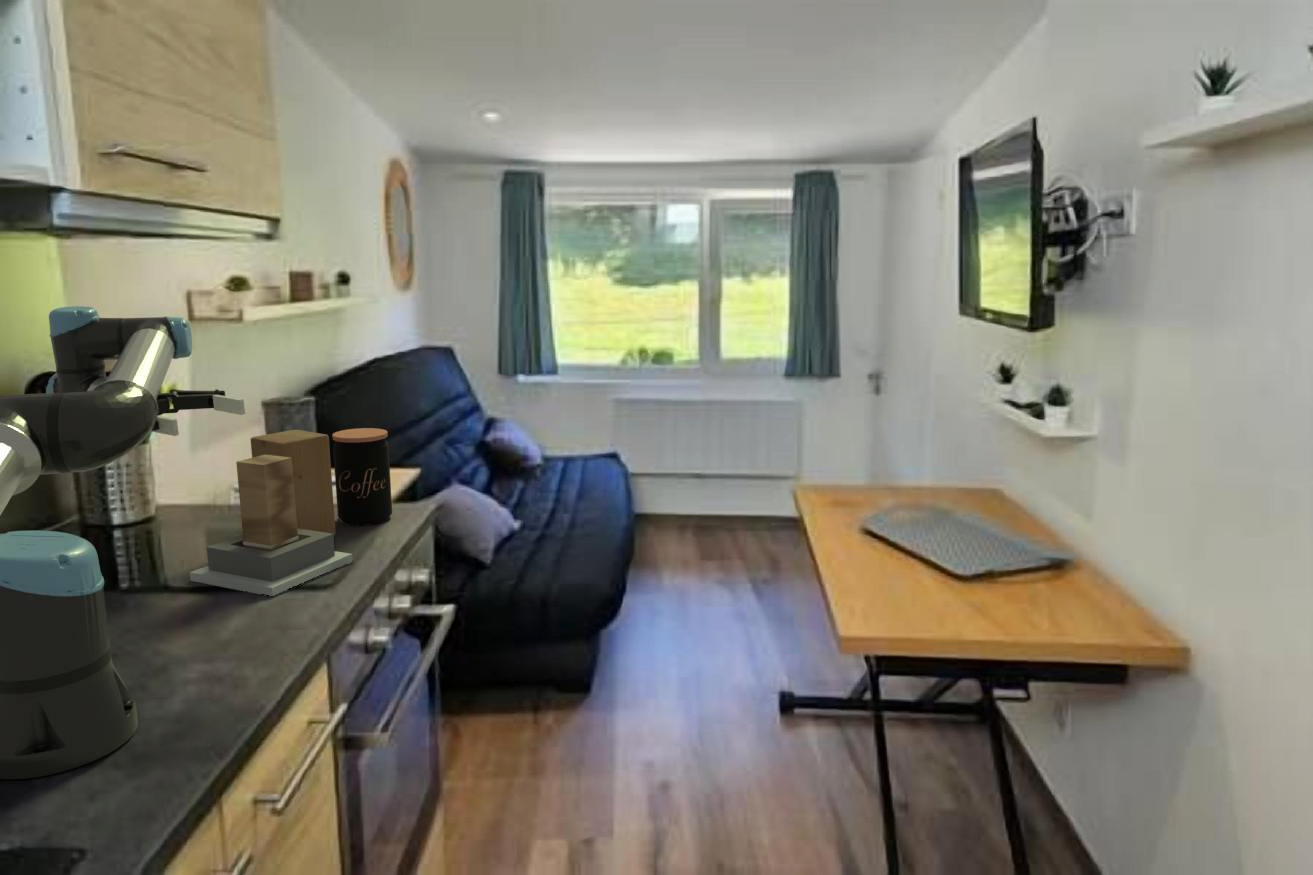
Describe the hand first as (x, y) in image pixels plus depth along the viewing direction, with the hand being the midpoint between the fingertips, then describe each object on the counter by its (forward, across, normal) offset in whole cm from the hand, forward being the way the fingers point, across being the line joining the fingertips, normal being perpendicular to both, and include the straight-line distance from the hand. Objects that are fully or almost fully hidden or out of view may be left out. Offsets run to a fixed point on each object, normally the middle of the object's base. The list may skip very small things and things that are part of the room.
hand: (211, 417), depth 152 cm
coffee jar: (+6, -28, -29) cm, 41 cm away
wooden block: (+3, -13, -27) cm, 30 cm away
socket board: (+13, +2, -25) cm, 28 cm away
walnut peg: (+13, +2, -24) cm, 27 cm away
